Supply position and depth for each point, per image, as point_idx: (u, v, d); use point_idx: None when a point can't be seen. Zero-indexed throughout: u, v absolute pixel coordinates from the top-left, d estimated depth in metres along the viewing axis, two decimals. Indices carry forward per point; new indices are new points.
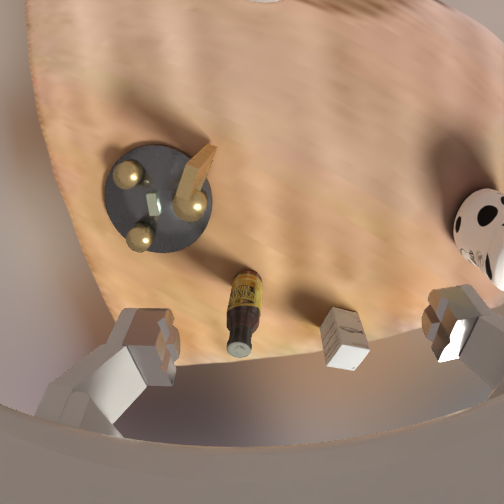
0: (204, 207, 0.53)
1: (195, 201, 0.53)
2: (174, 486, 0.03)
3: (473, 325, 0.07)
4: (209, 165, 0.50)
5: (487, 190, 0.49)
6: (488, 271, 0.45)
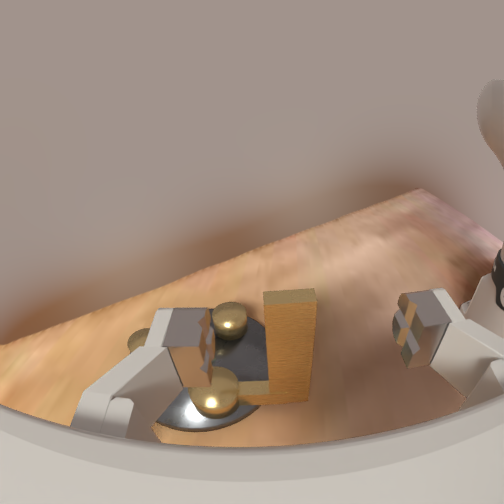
0: (217, 405, 0.31)
1: (223, 391, 0.33)
2: (174, 486, 0.03)
3: (443, 331, 0.07)
4: (283, 393, 0.33)
5: None
6: None
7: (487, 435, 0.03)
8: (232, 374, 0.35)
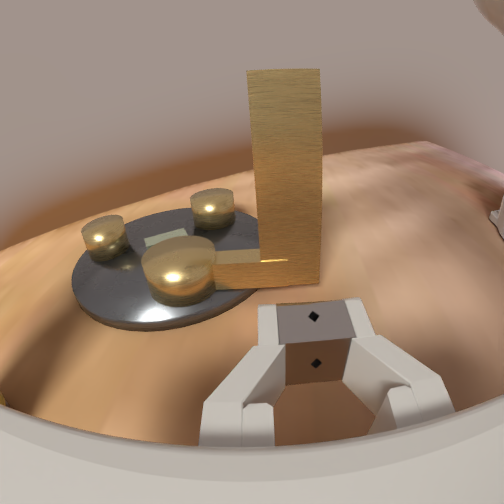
0: (180, 272, 0.22)
1: (191, 257, 0.23)
2: (174, 486, 0.03)
3: (348, 347, 0.07)
4: (281, 260, 0.23)
5: None
6: None
7: (487, 435, 0.03)
8: (207, 241, 0.25)
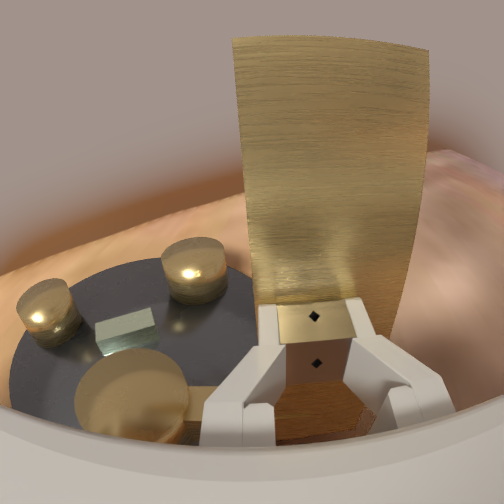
0: None
1: (148, 409, 0.12)
2: (174, 486, 0.03)
3: (348, 347, 0.07)
4: (300, 416, 0.12)
5: None
6: None
7: (487, 435, 0.03)
8: (174, 368, 0.14)
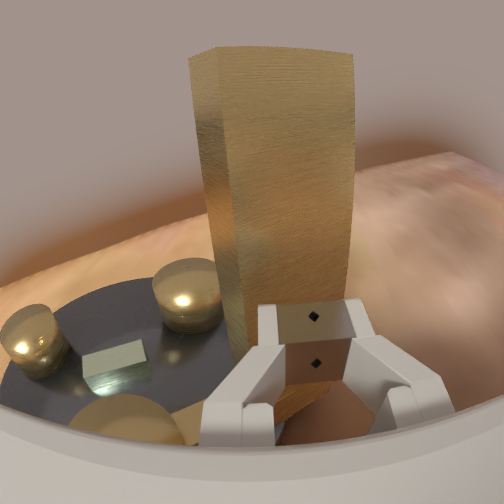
0: None
1: None
2: (174, 486, 0.03)
3: (348, 347, 0.07)
4: (286, 396, 0.13)
5: None
6: None
7: (487, 435, 0.03)
8: (148, 402, 0.12)
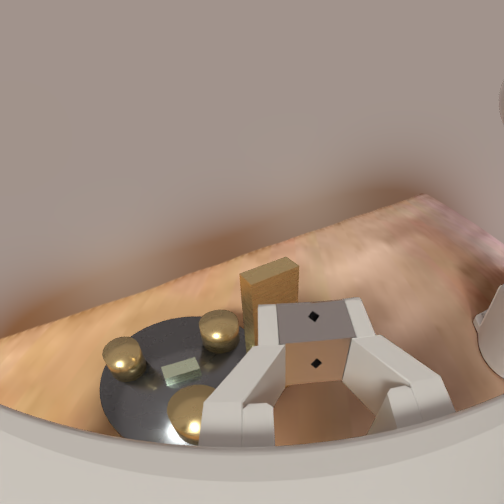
0: None
1: None
2: (174, 486, 0.03)
3: (348, 347, 0.07)
4: None
5: None
6: None
7: (487, 435, 0.03)
8: (208, 387, 0.30)
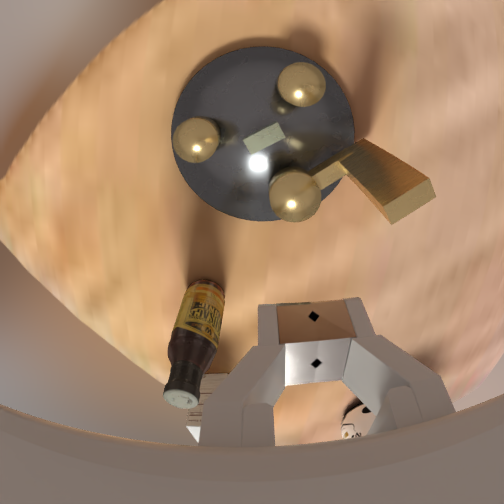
0: (313, 212, 0.36)
1: (309, 198, 0.35)
2: (174, 486, 0.03)
3: (348, 347, 0.07)
4: None
5: None
6: None
7: (487, 435, 0.03)
8: (304, 176, 0.34)
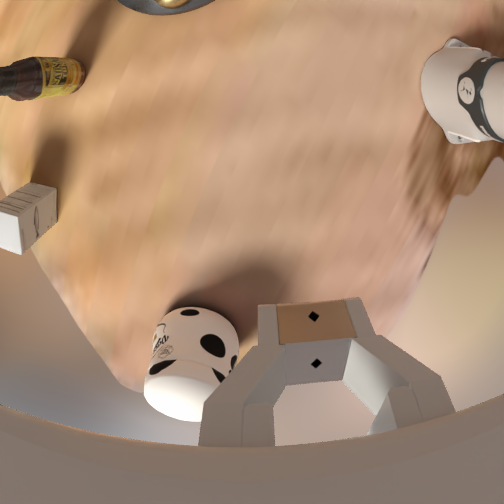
0: (179, 0, 0.29)
1: None
2: (174, 486, 0.03)
3: (348, 347, 0.07)
4: None
5: (236, 337, 0.58)
6: (156, 368, 0.46)
7: (487, 435, 0.03)
8: None
